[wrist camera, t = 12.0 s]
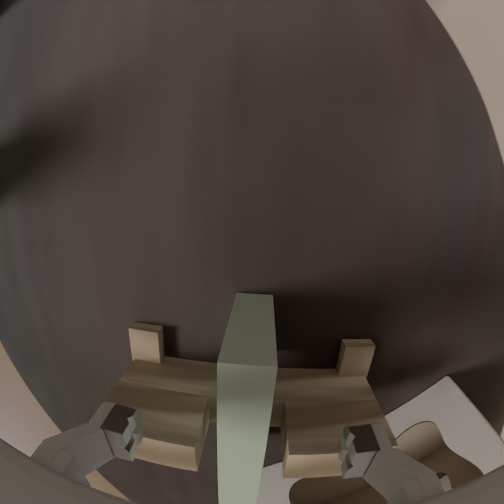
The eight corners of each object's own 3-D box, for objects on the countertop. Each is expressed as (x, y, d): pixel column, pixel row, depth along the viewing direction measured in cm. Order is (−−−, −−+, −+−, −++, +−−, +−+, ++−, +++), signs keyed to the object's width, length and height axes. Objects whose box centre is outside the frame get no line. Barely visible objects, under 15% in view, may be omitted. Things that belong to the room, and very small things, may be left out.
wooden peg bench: (134, 321, 21) (75, 385, 12) (370, 339, 21) (418, 411, 12) (145, 398, 23) (107, 468, 14) (348, 414, 22) (373, 489, 13)
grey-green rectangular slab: (236, 292, 20) (217, 362, 11) (272, 295, 20) (277, 367, 11) (230, 432, 23) (219, 509, 14) (257, 434, 23) (254, 512, 14)
